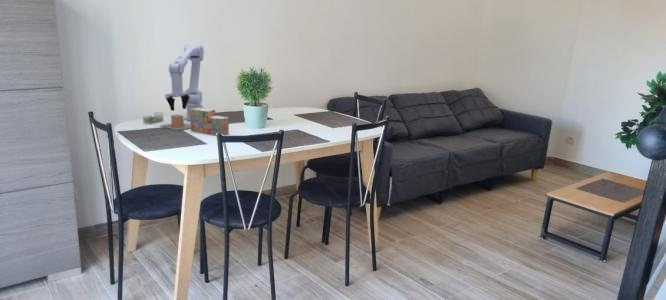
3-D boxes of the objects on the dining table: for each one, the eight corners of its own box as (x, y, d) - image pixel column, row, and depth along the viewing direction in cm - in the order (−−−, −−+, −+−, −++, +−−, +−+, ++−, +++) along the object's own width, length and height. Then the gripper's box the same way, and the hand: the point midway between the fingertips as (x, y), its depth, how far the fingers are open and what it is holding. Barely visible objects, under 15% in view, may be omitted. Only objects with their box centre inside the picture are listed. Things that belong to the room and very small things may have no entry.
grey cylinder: (160, 120, 284) (160, 112, 283) (165, 121, 281) (164, 113, 280) (152, 121, 280) (152, 112, 279) (157, 122, 277) (156, 114, 276)
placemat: (179, 123, 276) (179, 122, 276) (195, 128, 267) (195, 127, 267) (160, 126, 267) (160, 125, 267) (176, 131, 258) (176, 130, 258)
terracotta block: (178, 125, 270) (177, 114, 269) (183, 126, 268) (183, 115, 266) (171, 126, 267) (171, 115, 265) (176, 127, 264) (176, 116, 263)
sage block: (151, 122, 278) (151, 115, 277) (156, 123, 274) (155, 117, 273) (143, 123, 274) (143, 116, 273) (147, 125, 271) (147, 118, 270)
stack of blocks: (229, 134, 255) (228, 111, 252) (221, 136, 249) (220, 113, 246) (198, 129, 264) (197, 107, 261) (190, 131, 259) (189, 108, 256)
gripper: (184, 83, 273) (185, 107, 277) (161, 85, 262) (162, 110, 265) (191, 84, 269) (192, 108, 272) (168, 86, 258) (170, 111, 261)
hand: (178, 109), depth 269 cm, fingers open, 7 cm apart
